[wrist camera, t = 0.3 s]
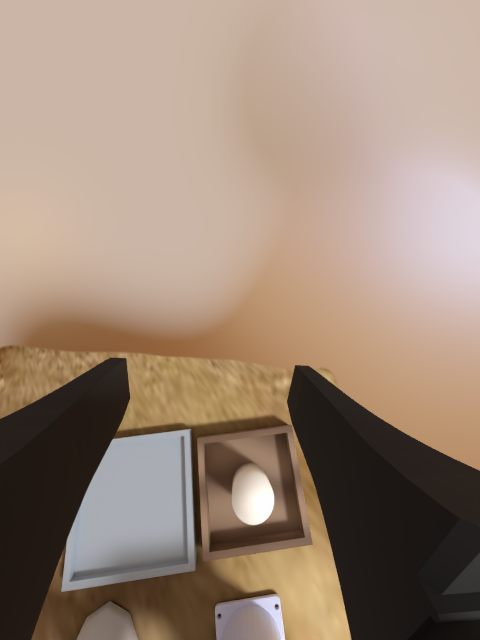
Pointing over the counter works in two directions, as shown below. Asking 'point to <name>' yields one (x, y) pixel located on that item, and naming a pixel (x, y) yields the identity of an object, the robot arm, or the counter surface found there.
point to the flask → (108, 624)
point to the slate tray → (135, 514)
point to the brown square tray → (216, 493)
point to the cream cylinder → (252, 494)
